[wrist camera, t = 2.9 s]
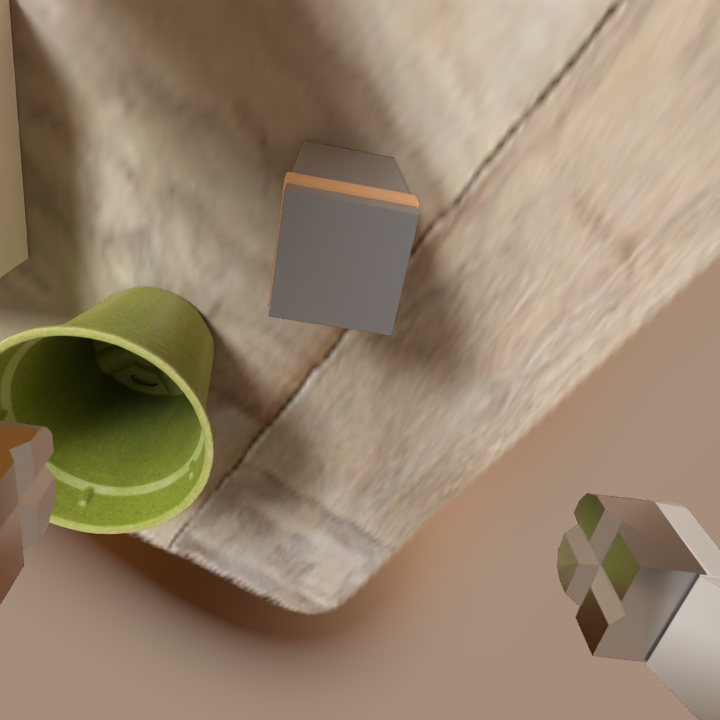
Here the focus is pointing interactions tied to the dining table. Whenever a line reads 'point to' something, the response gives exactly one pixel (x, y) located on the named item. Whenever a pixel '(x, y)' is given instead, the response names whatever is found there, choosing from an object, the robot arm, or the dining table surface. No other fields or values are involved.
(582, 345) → the dining table surface
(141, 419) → the plant pot
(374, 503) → the dining table surface
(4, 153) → the socket block
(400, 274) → the plug
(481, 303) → the dining table surface
